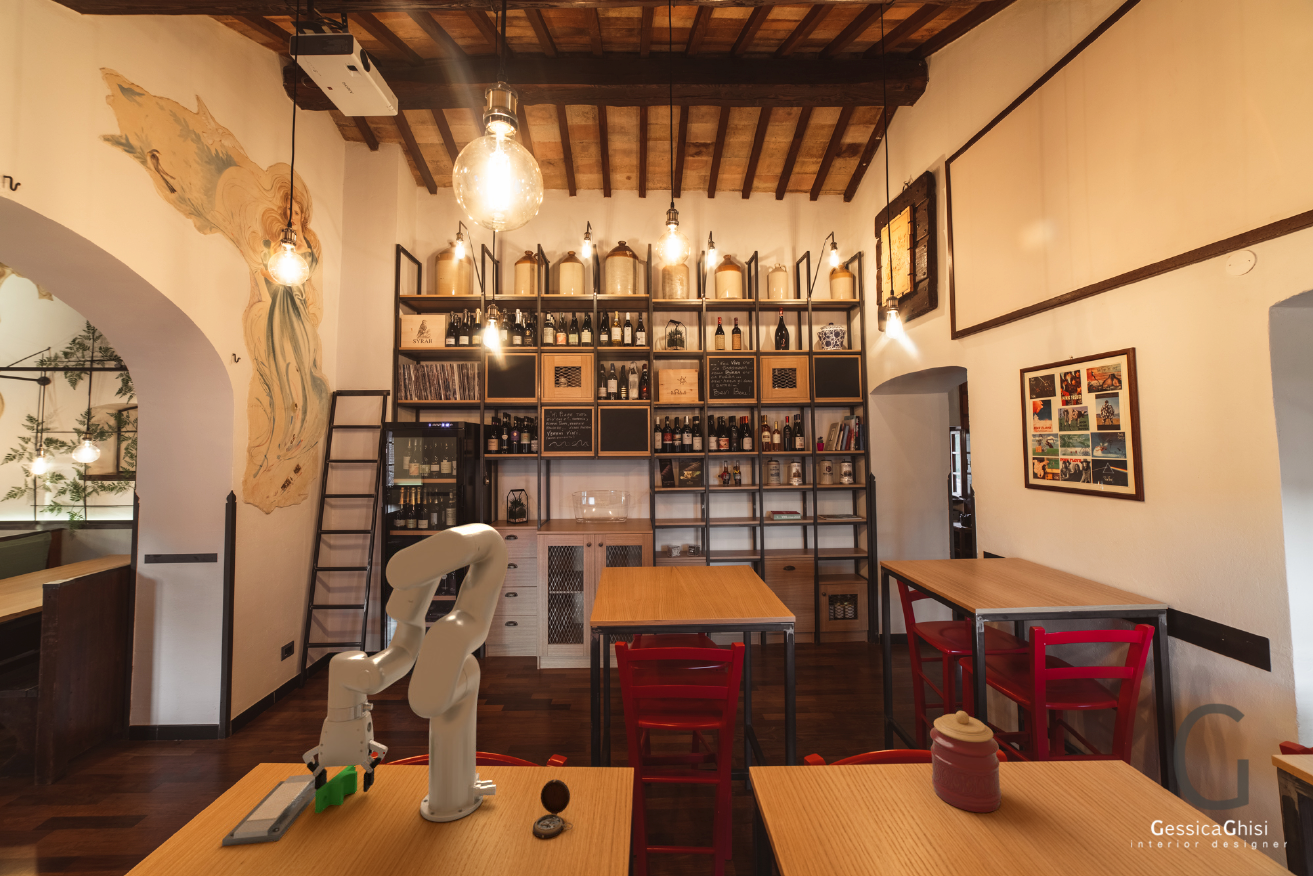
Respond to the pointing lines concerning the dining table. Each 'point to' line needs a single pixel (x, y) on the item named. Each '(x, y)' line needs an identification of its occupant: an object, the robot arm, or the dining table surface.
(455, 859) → the dining table surface
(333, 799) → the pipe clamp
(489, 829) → the dining table surface
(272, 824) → the grey framed panel
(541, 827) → the compass
